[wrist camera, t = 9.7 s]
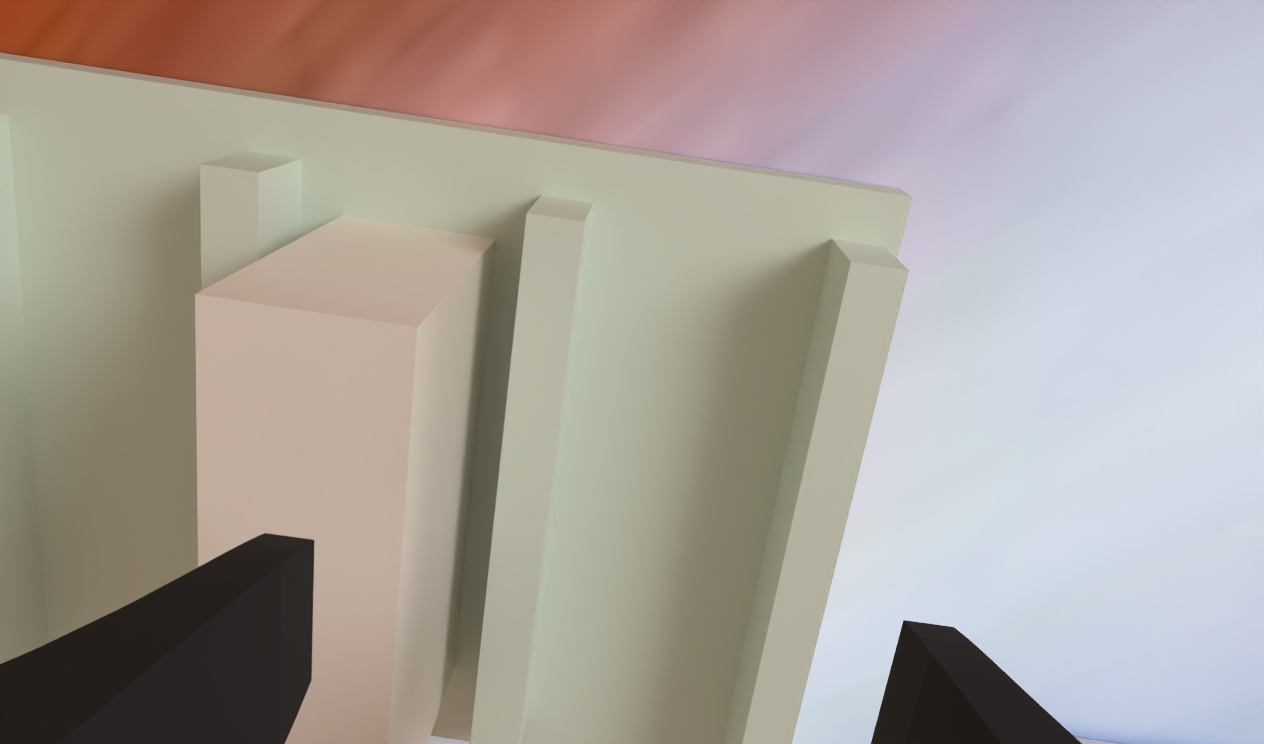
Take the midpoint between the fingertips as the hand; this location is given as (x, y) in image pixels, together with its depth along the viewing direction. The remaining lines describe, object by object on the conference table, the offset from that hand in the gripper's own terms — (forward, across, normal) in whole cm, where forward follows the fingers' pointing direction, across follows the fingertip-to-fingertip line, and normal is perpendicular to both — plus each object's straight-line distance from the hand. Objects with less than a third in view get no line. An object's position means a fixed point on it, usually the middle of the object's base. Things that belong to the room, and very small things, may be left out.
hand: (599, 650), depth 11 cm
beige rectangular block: (+8, +5, +2) cm, 10 cm away
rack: (+9, +5, +2) cm, 11 cm away
